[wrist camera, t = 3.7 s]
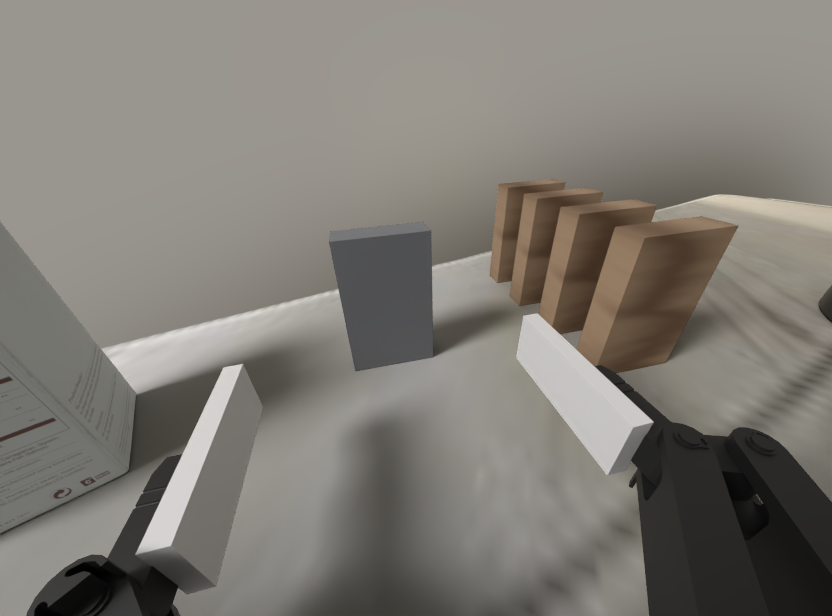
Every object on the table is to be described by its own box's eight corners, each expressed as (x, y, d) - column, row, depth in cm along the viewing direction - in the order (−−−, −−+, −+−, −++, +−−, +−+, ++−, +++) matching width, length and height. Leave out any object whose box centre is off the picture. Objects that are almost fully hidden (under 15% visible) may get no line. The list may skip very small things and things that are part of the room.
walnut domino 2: (562, 288, 32) (586, 187, 26) (574, 297, 30) (603, 192, 25) (509, 296, 31) (524, 193, 25) (519, 305, 29) (537, 198, 24)
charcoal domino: (426, 341, 25) (423, 221, 20) (433, 357, 23) (431, 230, 18) (354, 353, 24) (330, 231, 19) (355, 371, 22) (329, 241, 17)
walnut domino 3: (596, 312, 27) (633, 199, 22) (612, 324, 26) (657, 205, 20) (536, 322, 26) (560, 207, 21) (549, 335, 25) (579, 214, 20)
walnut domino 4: (642, 345, 23) (701, 216, 18) (665, 362, 22) (738, 225, 16) (573, 359, 22) (614, 226, 17) (592, 378, 21) (645, 237, 15)
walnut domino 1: (536, 268, 36) (553, 179, 30) (546, 275, 34) (565, 182, 29) (489, 275, 35) (498, 183, 30) (497, 282, 33) (508, 187, 28)
